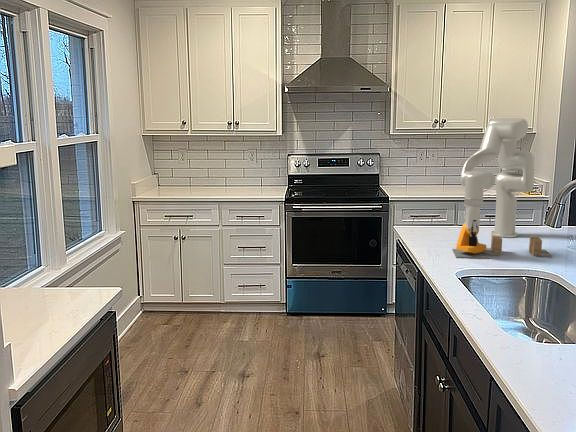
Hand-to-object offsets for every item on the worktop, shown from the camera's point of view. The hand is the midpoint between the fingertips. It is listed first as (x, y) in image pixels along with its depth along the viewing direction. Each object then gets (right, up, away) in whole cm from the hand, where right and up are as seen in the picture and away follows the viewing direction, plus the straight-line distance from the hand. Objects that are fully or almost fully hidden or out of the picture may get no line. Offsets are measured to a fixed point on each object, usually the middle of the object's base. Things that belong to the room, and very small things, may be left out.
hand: (471, 243), depth 242 cm
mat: (0, -5, +1) cm, 5 cm away
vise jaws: (+19, -4, +1) cm, 20 cm away
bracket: (0, -3, 0) cm, 3 cm away
